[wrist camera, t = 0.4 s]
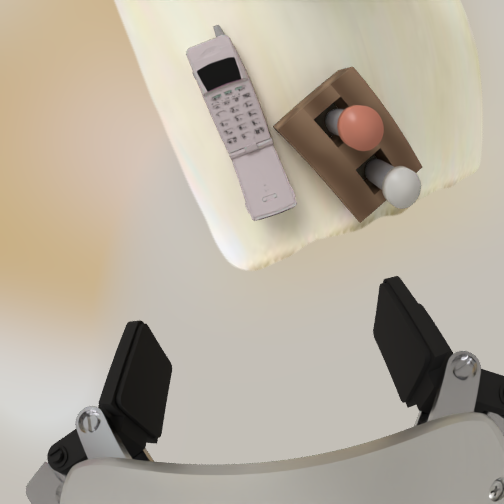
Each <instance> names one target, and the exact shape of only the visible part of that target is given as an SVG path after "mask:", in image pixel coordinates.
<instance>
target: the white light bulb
mask: <svg viewBox="0 0 504 504" xmlns="http://www.w3.org/2000/svg"><path fill="white" fill-rule="evenodd" d="M365 175H366V178H367V179H368V180H369V181H370V182H372V183H373V184H374V185H376V186H377V187H379V188H380V189H381V190H382V191H383V195H384V197H385V199H386V200H387V201H388V202H390V203H391V204H392V205H393V206H395V207H396V208H400V209H403V208H407V207H409V206H411V205H412V204H413V203H414V202H415V201H416V200H417V198H418V196H419V194H420V189H421V183H420V179H419V177H418V175H417V174H416V173H415V172H414V171H412V170H410V169H408V168H407V167H404V166H397V167H394V166H392V165H390V164H388V163H386V162H384V161H382V160H380V159H372V160H370V161H369V162H368V163H367V165H366V167H365Z"/></svg>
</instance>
